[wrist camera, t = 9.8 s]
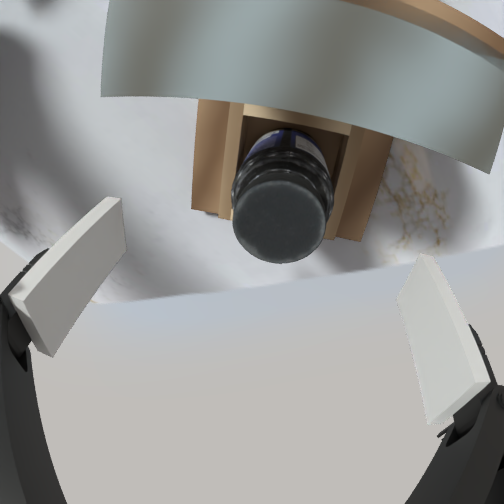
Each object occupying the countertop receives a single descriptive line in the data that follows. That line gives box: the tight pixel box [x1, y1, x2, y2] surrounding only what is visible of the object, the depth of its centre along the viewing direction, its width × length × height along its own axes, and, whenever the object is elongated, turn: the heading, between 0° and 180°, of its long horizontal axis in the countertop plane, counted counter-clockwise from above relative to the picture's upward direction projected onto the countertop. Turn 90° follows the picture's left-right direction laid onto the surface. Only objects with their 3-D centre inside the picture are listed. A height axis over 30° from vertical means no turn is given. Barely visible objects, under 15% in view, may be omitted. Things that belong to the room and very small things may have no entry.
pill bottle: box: [231, 128, 334, 264], centre depth 19 cm, size 6×6×11 cm
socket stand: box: [101, 0, 504, 242], centre depth 17 cm, size 16×18×15 cm
